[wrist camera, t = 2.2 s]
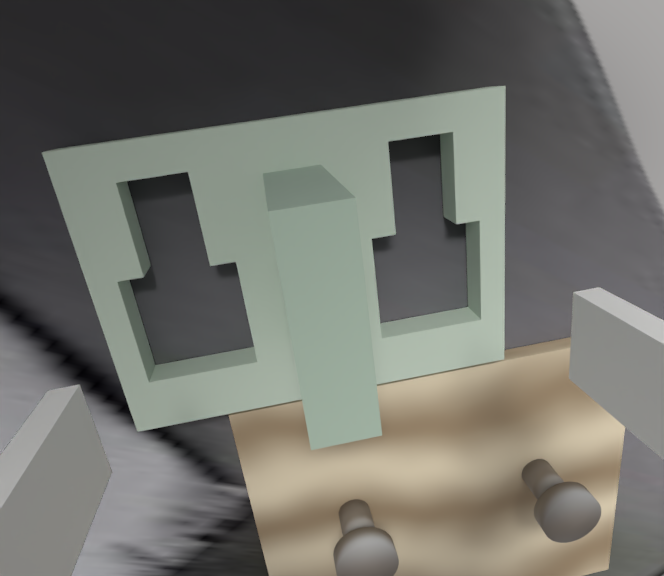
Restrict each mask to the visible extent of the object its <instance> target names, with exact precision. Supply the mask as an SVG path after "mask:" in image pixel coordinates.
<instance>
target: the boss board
mask: <svg viewBox="0 0 664 576" xmlns="http://www.w3.org/2000/svg"><path fill="white" fill-rule="evenodd" d="M570 346H571V337H569V338H564V339H559V340H554V341H548V342H543V343H538V344H533V345H528V346H523V347H518V348H513V349H508V350H504V359H503V360H498V361H493V362H488V363H483V364H478V365H473V366H468V367H463V368H458V369H453V370H448V371H443V372H438V373H433V374H428V375H423V376H418V377H412V378H407V379H402V380H397V381H392V382H387V383H382V384H377V393H378V402H379V411H380V420H381V429H382V436H377V437H373V438H368V439H363V440H358V441H353V442H349V443H344V444H339V445H334V446H329V447H324V448H320V449H315V450H311V447H310V441H309V436H308V430H307V425H306V419H305V414H304V408H303V403H302V399H301V400H296V401H291V402H286V403H281V404H276V405H271V406H266V407H261V408H256V409H251V410H246V411H241V412H236V413H231V414H229V419H230V423H231V427H232V431H233V435H234V439H235V443H236V447H237V451H238V455H239V459H240V463H241V467H242V471H243V475H244V479H245V483H246V487H247V490H248V494H249V498H250V502H251V506H252V510H253V514H254V518H255V522H256V526H257V530H258V534H259V538H260V542H261V546H262V550H263V554H264V558H265V562H266V566H267V570H268V574H269V576H583V575H587V574H591V573H595V572H599V571H603V570H607V569H608V567H609V559H610V550H611V542H612V533H613V525H614V516H615V508H616V500H617V491H618V483H619V474H620V466H621V457H622V449H623V440H624V432H625V426H623V425H622V424H621V423H620V422H619V421H618V420H616V419H615V418H614V417H613V416H612V415H611V414H609V413H608V412H607V411H606V410H605V409H604V408H602V407H601V406H600V405H599V404H598V403H597V402H595V401H594V400H593V399H592V398H591V397H590V396H588V395H587V394H586V393H585V392H584V391H583V390H581V389H580V388H579V387H578V386H577V385H576V384H574V383H573V382H572V381H571V380H570V379H569V366H570Z"/></svg>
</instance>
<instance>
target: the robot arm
mask: <svg viewBox="0 0 664 576" xmlns="http://www.w3.org/2000/svg"><path fill="white" fill-rule="evenodd" d="M569 379H570V380H571V381H572V382H573V383H574V384H576V385H577V386H578V387H579V388H580V389H581V390H583V391H584V392H585V393H586V394H587V395H588V396H590V397H591V398H592V399H593V400H594V401H595V402H597V403H598V404H599V405H600V406H601V407H602V408H604V409H605V410H606V411H607V412H608V413H609V414H611V415H612V416H613V417H614V418H615V419H616V420H618V421H619V422H620V423H621V424H622V425H623V426H625V427H626V428H627V429H628V430H629V431H630V432H632V433H633V434H634V435H635V436H636V437H637V438H639V439H640V440H641V441H642V442H643V443H644V444H646V445H647V446H648V447H649V448H650V449H651V450H653V451H654V452H655V453H656V454H657V455H658V456H660V457H661V458H662V459H663V460H664V320H662V319H660V318H658V317H656V316H654V315H652V314H650V313H648V312H646V311H644V310H642V309H640V308H638V307H636V306H635V305H633V304H631V303H629V302H627V301H625V300H623V299H621V298H619V297H617V296H615V295H613V294H611V293H609V292H607V291H606V290H604V289H602V288H600V287H598V288H593V289H588V290H582V291H577V292H573V307H572V327H571V346H570V366H569ZM111 473H112V470H111V468H110V465H109V462H108V460H107V457H106V454H105V451H104V449H103V446H102V443H101V441H100V438H99V435H98V433H97V430H96V427H95V424H94V422H93V419H92V416H91V414H90V411H89V408H88V406H87V403H86V400H85V397H84V395H83V392H82V389H81V387H80V384H79V385H74V386H69V387H63V388H58V389H53V390H48V391H47V392H46V394H45V395H44V396H43V398H42V399H41V400H40V402H39V403H38V404H37V406H36V407H35V409H34V410H33V411H32V413H31V414H30V415H29V417H28V418H27V419H26V421H25V422H24V424H23V425H22V426H21V428H20V429H19V430H18V432H17V433H16V434H15V436H14V437H13V438H12V440H11V441H10V443H9V444H8V445H7V447H6V448H5V449H4V451H3V452H2V453H1V455H0V576H71V575H72V573H73V570H74V567H75V565H76V562H77V560H78V557H79V555H80V552H81V550H82V547H83V545H84V542H85V540H86V537H87V534H88V532H89V529H90V527H91V524H92V522H93V519H94V517H95V514H96V512H97V509H98V506H99V504H100V501H101V499H102V496H103V494H104V491H105V489H106V486H107V484H108V481H109V478H110V476H111Z"/></svg>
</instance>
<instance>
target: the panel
mask: <svg viewBox="0 0 664 576" xmlns="http://www.w3.org/2000/svg"><path fill="white" fill-rule="evenodd" d="M505 87H506V86H493V87H483V88H476V89H469V90H462V91H455V92H448V93H441V94H434V95H427V96H420V97H413V98H406V99H399V100H392V101H385V102H378V103H371V104H364V105H358V106H351V107H344V108H337V109H330V110H323V111H316V112H309V113H302V114H295V115H288V116H281V117H274V118H267V119H260V120H253V121H246V122H239V123H232V124H225V125H218V126H211V127H204V128H197V129H190V130H183V131H176V132H169V133H162V134H155V135H148V136H141V137H134V138H127V139H120V140H113V141H106V142H99V143H92V144H85V145H78V146H71V147H64V148H58V149H53V150H49V151H45V152H42V155H43V158H44V161H45V163H46V166H47V169H48V172H49V175H50V178H51V181H52V184H53V187H54V190H55V193H56V196H57V198H58V201H59V204H60V207H61V210H62V213H63V216H64V219H65V222H66V225H67V228H68V231H69V233H70V236H71V239H72V242H73V245H74V248H75V251H76V254H77V257H78V260H79V263H80V266H81V269H82V271H83V274H84V277H85V280H86V283H87V286H88V289H89V292H90V295H91V298H92V301H93V304H94V306H95V309H96V312H97V315H98V318H99V321H100V324H101V327H102V330H103V333H104V336H105V339H106V341H107V344H108V347H109V350H110V353H111V356H112V359H113V362H114V365H115V368H116V371H117V374H118V376H119V379H120V382H121V385H122V388H123V391H124V394H125V397H126V400H127V403H128V406H129V409H130V412H131V414H132V417H133V420H134V423H135V426H136V429H137V432H140V431H145V430H150V429H155V428H160V427H165V426H170V425H175V424H180V423H185V422H190V421H195V420H200V419H205V418H210V417H215V416H220V415H226V414H231V413H236V412H241V411H246V410H251V409H256V408H261V407H266V406H271V405H276V404H281V403H286V402H291V401H296V400H301V399H302V403H303V408H304V414H305V419H306V425H307V430H308V436H309V441H310V447H311V450H315V449H320V448H324V447H329V446H334V445H339V444H344V443H349V442H353V441H358V440H363V439H368V438H373V437H377V436H382V429H381V420H380V411H379V402H378V393H377V384H382V383H387V382H392V381H397V380H402V379H407V378H412V377H418V376H423V375H428V374H433V373H438V372H443V371H448V370H453V369H458V368H463V367H468V366H473V365H478V364H483V363H488V362H493V361H498V360H503V359H504V321H505ZM435 134H440V149H441V172H442V194H443V217H445V218H447V219H448V220H450V221H452V222H453V223H455V224H462V223H466V253H467V290H468V307H465V308H460V309H454V310H449V311H443V312H438V313H433V314H427V315H422V316H417V317H411V318H406V319H401V320H395V321H390V322H384V323H380V315H379V305H378V295H377V286H376V276H375V266H374V256H373V247H372V239H373V238H379V237H385V236H391V235H396V230H395V218H394V206H393V194H392V182H391V170H390V158H389V146H388V142H389V141H396V140H402V139H409V138H415V137H422V136H429V135H435ZM184 172H188V175H189V179H190V183H191V187H192V191H193V196H194V200H195V204H196V208H197V213H198V217H199V221H200V225H201V229H202V234H203V238H204V242H205V246H206V251H207V255H208V259H209V263H210V266H214V265H220V264H226V263H232V262H236V265H237V269H238V274H239V279H240V283H241V288H242V293H243V297H244V302H245V307H246V311H247V316H248V321H249V325H250V330H251V334H252V339H253V344H254V347H250V348H245V349H239V350H234V351H229V352H223V353H218V354H213V355H207V356H202V357H196V358H191V359H186V360H180V361H175V362H170V363H164V364H159V365H155V362H154V359H153V356H152V352H151V349H150V346H149V342H148V339H147V336H146V333H145V329H144V326H143V323H142V320H141V316H140V313H139V310H138V307H137V303H136V300H135V297H134V294H133V290H132V287H131V284H130V280H131V279H137V278H143V277H144V276H145V274H146V273H147V271H148V270H149V268H150V266H151V264H150V260H149V257H148V253H147V250H146V246H145V243H144V239H143V236H142V232H141V229H140V225H139V222H138V218H137V215H136V211H135V208H134V204H133V201H132V197H131V194H130V190H129V187H128V183H127V181H131V180H138V179H144V178H151V177H157V176H164V175H171V174H177V173H184Z"/></svg>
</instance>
